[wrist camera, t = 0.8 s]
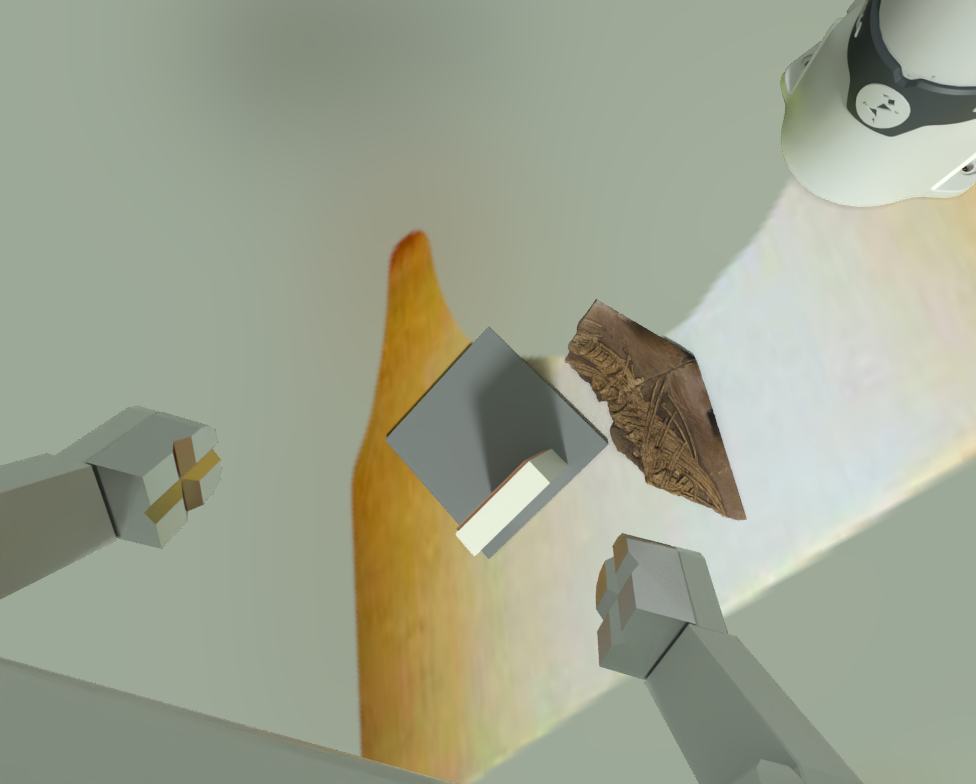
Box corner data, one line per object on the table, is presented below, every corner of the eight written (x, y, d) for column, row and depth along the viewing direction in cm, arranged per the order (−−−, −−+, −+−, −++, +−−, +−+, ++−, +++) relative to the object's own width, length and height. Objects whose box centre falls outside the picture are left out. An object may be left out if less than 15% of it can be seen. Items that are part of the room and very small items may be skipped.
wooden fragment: (547, 330, 50) (546, 328, 49) (639, 273, 48) (640, 270, 47) (676, 548, 46) (677, 551, 45) (784, 498, 44) (788, 501, 43)
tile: (549, 446, 49) (526, 458, 38) (568, 465, 49) (550, 482, 37) (492, 503, 51) (452, 531, 39) (509, 522, 50) (474, 556, 39)
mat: (489, 327, 52) (488, 326, 52) (608, 443, 48) (608, 444, 47) (387, 439, 55) (384, 439, 55) (490, 557, 51) (489, 559, 51)
